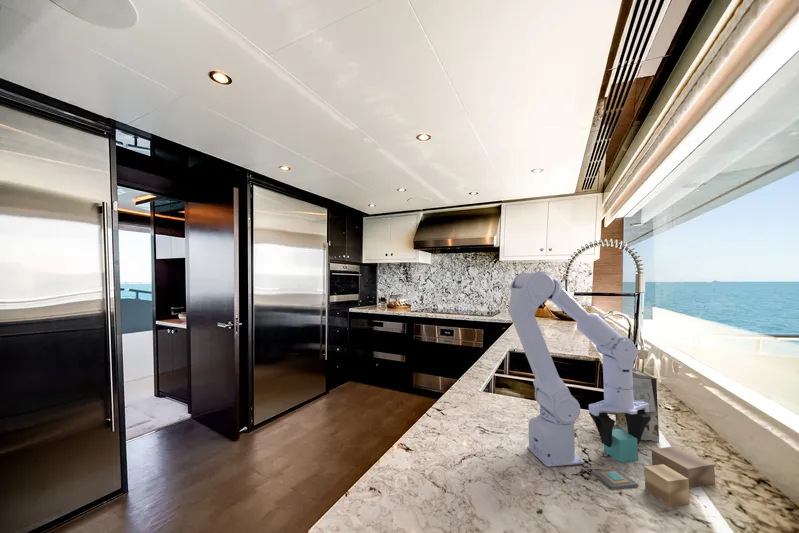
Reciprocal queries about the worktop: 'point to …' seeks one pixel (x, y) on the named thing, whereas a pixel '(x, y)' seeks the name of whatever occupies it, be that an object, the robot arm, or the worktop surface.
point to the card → (615, 479)
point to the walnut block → (685, 465)
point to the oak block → (667, 485)
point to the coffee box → (647, 393)
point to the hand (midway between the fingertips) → (620, 443)
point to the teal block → (623, 446)
